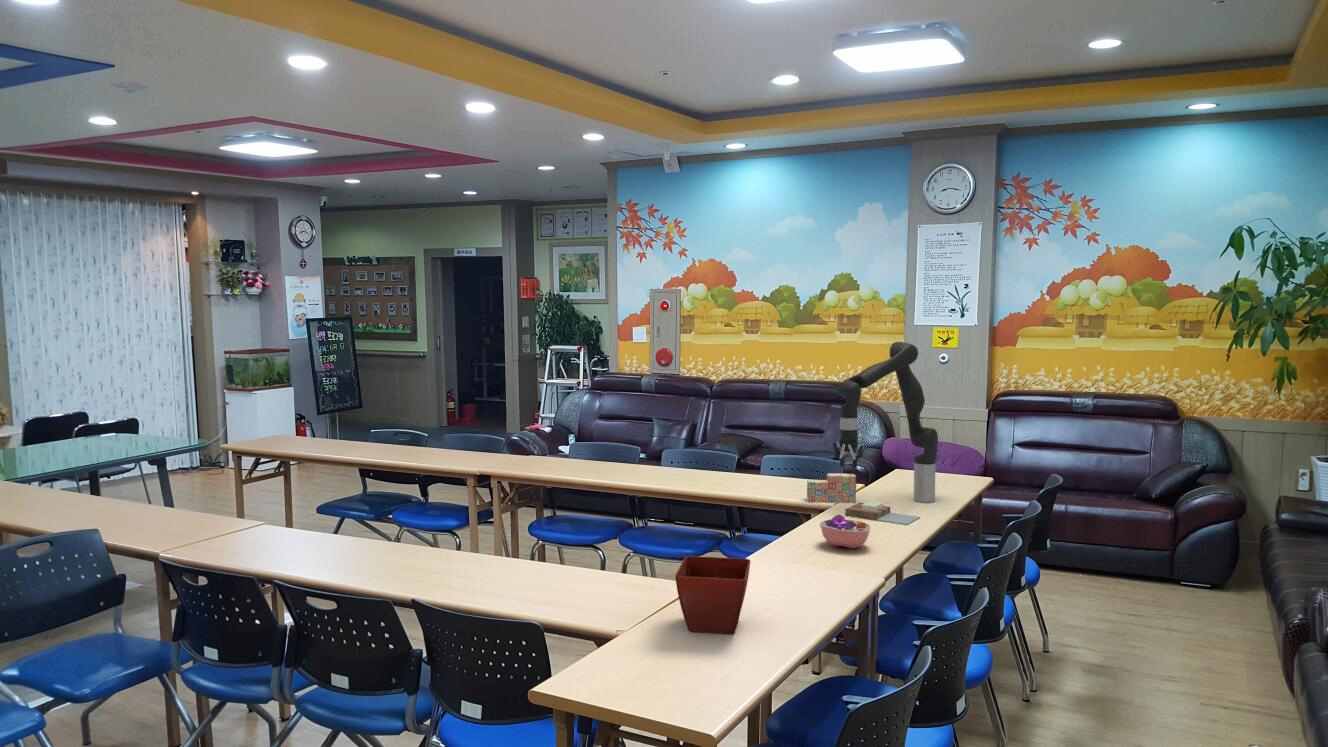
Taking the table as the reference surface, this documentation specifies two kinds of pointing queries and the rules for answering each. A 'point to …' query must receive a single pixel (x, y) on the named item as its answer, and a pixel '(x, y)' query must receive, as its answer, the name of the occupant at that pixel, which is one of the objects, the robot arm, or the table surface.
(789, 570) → the table surface
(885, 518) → the mat
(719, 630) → the plant pot
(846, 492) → the stack of blocks
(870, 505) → the tile
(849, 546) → the cell model
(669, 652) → the table surface
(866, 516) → the block
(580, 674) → the table surface
